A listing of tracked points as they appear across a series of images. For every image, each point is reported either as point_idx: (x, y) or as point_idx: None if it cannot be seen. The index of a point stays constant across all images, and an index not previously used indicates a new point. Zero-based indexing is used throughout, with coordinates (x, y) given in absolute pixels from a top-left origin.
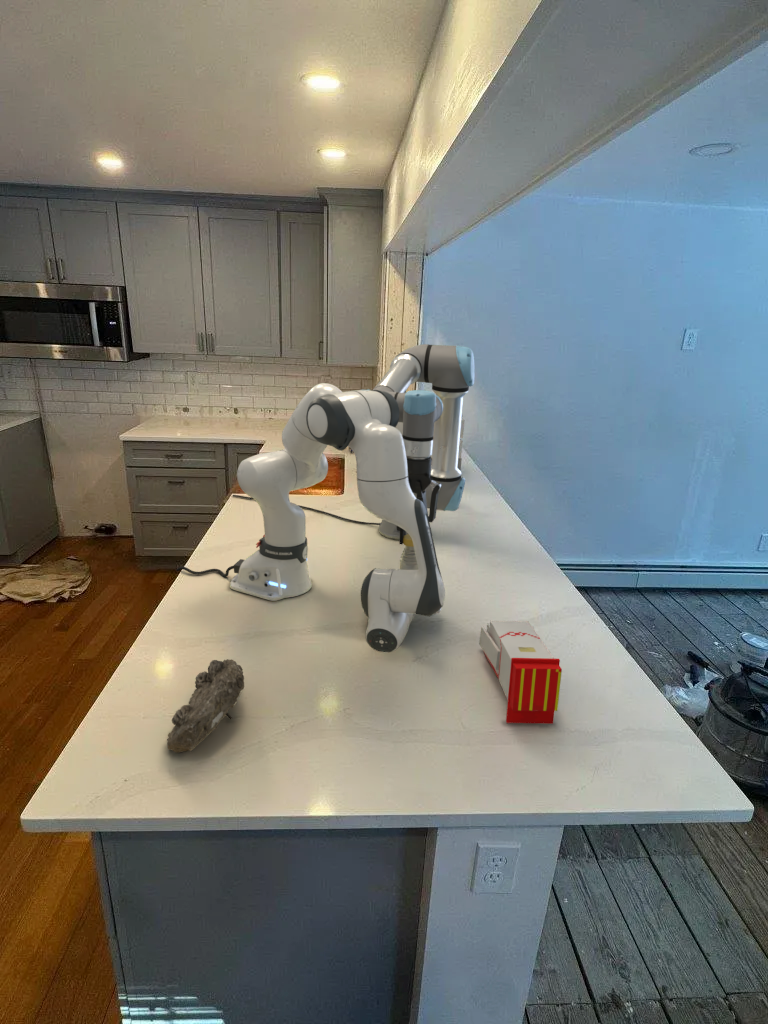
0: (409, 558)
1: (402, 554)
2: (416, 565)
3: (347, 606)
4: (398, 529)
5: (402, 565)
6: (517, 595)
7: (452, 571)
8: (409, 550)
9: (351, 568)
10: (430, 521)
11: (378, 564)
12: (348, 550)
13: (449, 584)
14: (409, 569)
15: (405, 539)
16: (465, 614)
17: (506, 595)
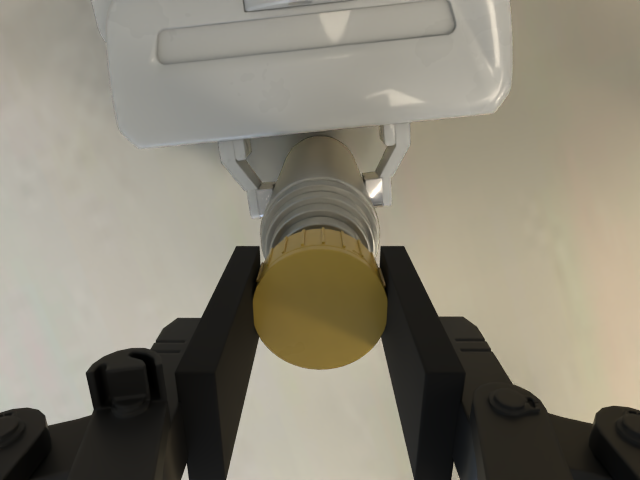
0: (308, 197)
1: (369, 236)
2: (268, 203)
3: (538, 67)
4: (454, 323)
5: (349, 181)
6: (4, 384)
7: (249, 452)
8: None
9: (590, 350)
10: (20, 417)
11: None
12: None
13: None
14: (303, 173)
15: (356, 256)
16: (105, 196)
17: (34, 371)
